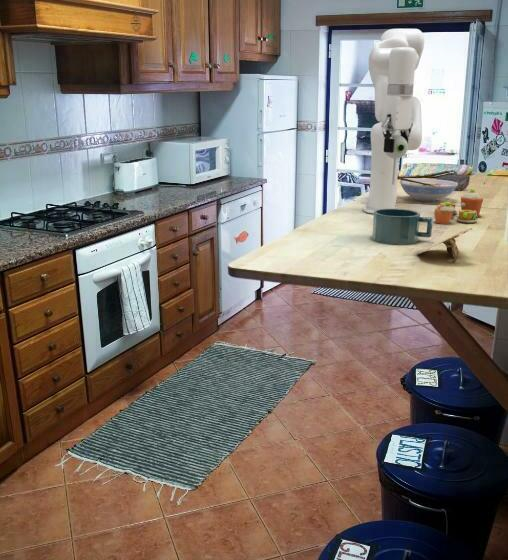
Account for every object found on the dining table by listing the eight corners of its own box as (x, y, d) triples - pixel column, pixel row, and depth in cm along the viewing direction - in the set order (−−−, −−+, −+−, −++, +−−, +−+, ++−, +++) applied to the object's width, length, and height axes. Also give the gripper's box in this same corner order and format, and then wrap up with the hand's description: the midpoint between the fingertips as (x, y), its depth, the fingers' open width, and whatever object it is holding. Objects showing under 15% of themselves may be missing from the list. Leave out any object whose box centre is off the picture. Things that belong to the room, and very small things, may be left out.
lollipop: (387, 186, 193) (391, 136, 189) (377, 183, 200) (380, 134, 196) (409, 185, 195) (413, 135, 191) (398, 182, 202) (401, 134, 198)
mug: (370, 242, 182) (372, 215, 180) (373, 233, 194) (375, 207, 192) (431, 246, 178) (433, 218, 176) (430, 237, 190) (432, 210, 188)
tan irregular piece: (415, 274, 174) (407, 247, 175) (466, 261, 174) (458, 234, 175) (431, 267, 156) (423, 237, 157) (488, 253, 156) (480, 223, 157)
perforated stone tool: (433, 189, 287) (434, 173, 285) (434, 187, 291) (435, 172, 289) (468, 191, 282) (470, 175, 280) (468, 189, 286) (470, 174, 284)
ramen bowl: (470, 204, 249) (472, 183, 247) (421, 207, 241) (423, 185, 239) (431, 194, 271) (432, 175, 269) (385, 197, 263) (386, 177, 261)
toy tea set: (437, 211, 233) (439, 184, 231) (482, 214, 228) (485, 187, 225) (428, 223, 210) (430, 194, 207) (477, 227, 205) (480, 197, 202)
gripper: (404, 91, 198) (400, 149, 203) (373, 90, 186) (369, 152, 191) (426, 91, 193) (421, 150, 198) (395, 91, 181) (390, 154, 186)
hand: (395, 151), depth 195 cm, fingers closed on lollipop, 7 cm apart
